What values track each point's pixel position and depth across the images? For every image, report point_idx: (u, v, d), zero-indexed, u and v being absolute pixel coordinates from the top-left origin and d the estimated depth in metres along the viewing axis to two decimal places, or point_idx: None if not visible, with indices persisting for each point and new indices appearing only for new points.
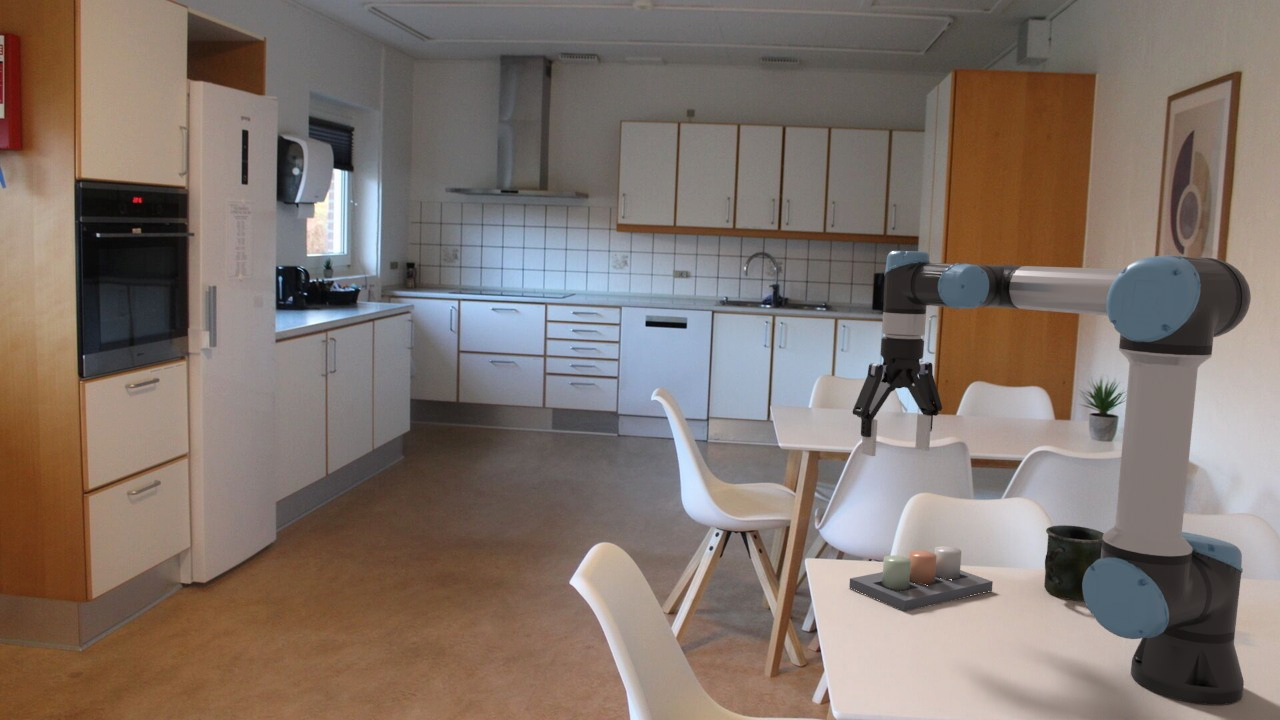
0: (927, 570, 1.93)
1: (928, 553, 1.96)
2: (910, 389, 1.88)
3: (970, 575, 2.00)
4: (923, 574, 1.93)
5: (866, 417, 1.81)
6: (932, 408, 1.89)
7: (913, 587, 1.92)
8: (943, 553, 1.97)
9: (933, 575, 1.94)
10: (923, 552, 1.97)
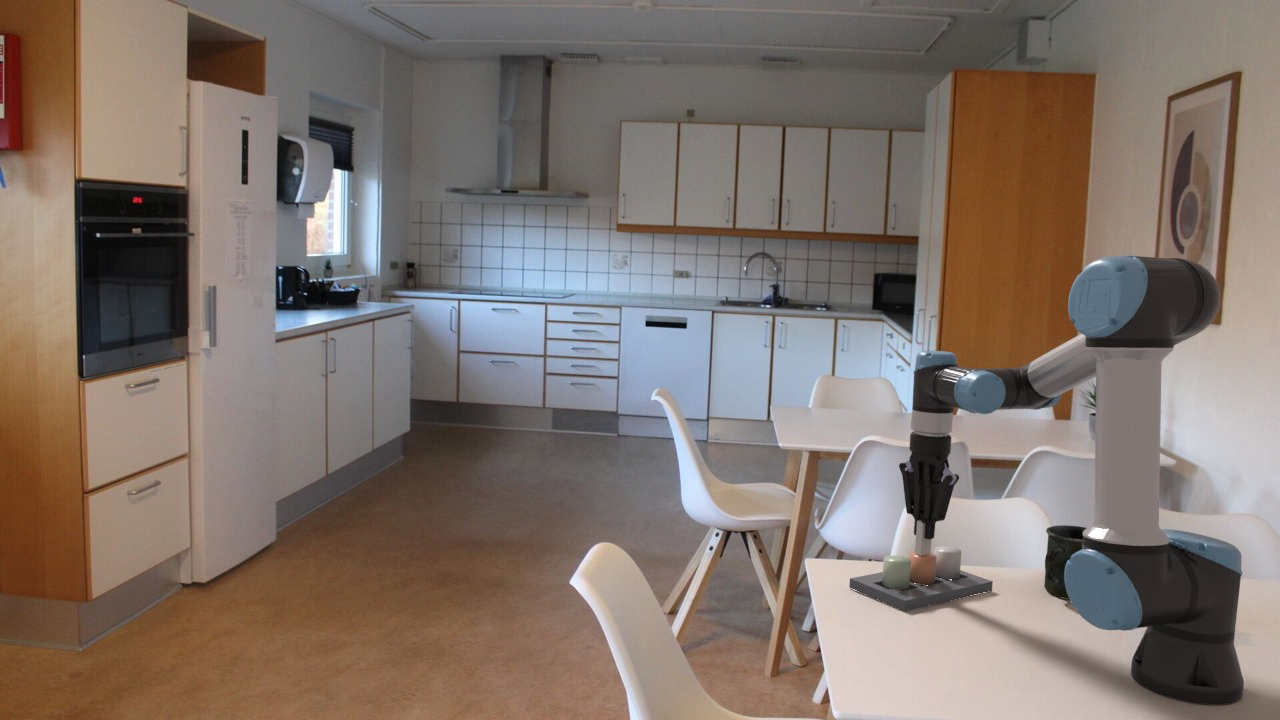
0: (926, 571, 1.93)
1: (928, 554, 1.96)
2: None
3: (970, 575, 2.00)
4: (923, 575, 1.93)
5: None
6: (927, 516, 1.93)
7: (913, 587, 1.92)
8: (943, 553, 1.97)
9: (933, 576, 1.94)
10: None
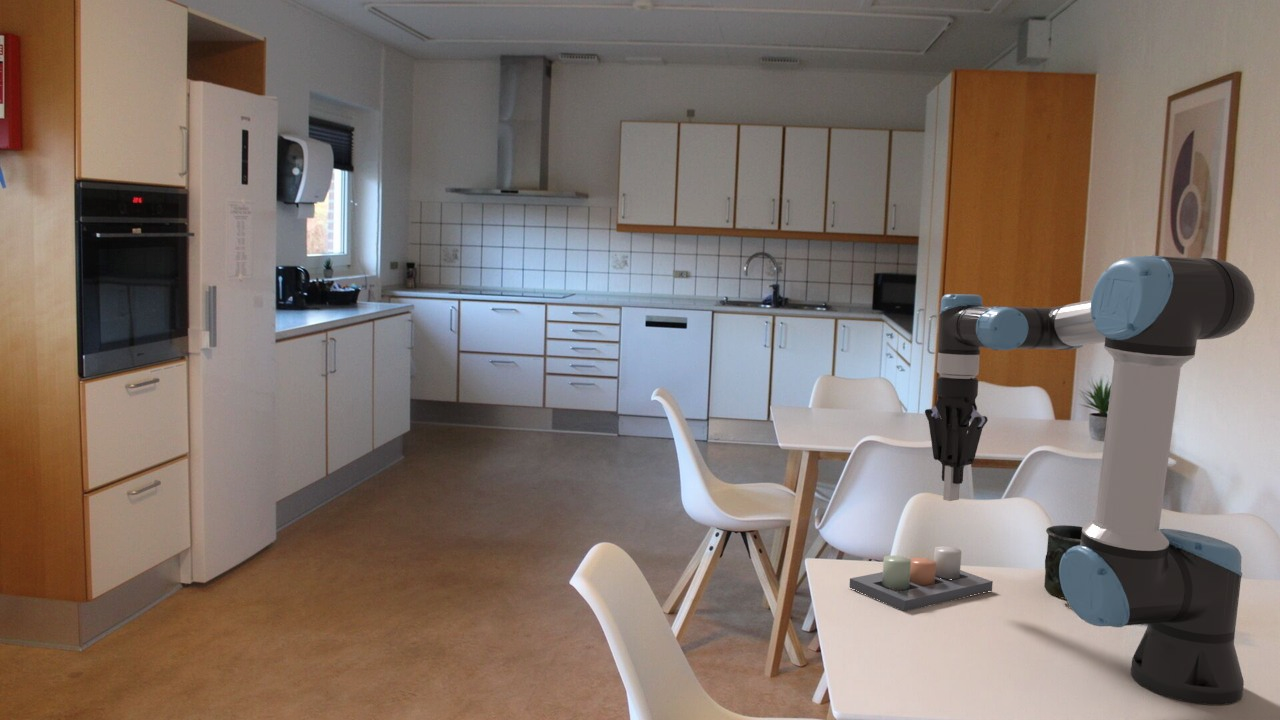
0: (926, 577, 1.93)
1: (928, 560, 1.96)
2: None
3: (970, 575, 2.00)
4: (922, 581, 1.93)
5: None
6: (955, 460, 1.91)
7: (913, 587, 1.92)
8: (943, 553, 1.97)
9: (933, 582, 1.94)
10: (923, 559, 1.97)
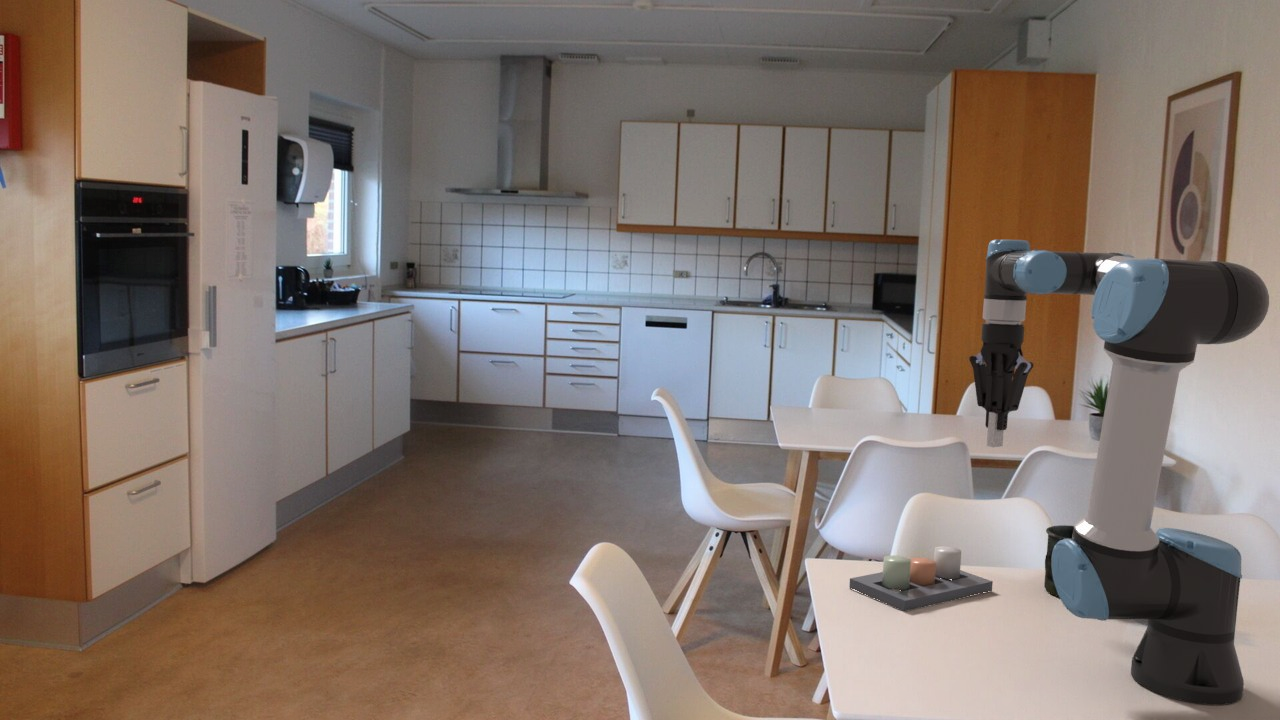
0: (926, 577, 1.93)
1: (928, 560, 1.96)
2: None
3: (970, 575, 2.00)
4: (922, 581, 1.93)
5: None
6: (1000, 406, 1.91)
7: (913, 587, 1.92)
8: (943, 553, 1.97)
9: (933, 582, 1.94)
10: (923, 559, 1.97)
